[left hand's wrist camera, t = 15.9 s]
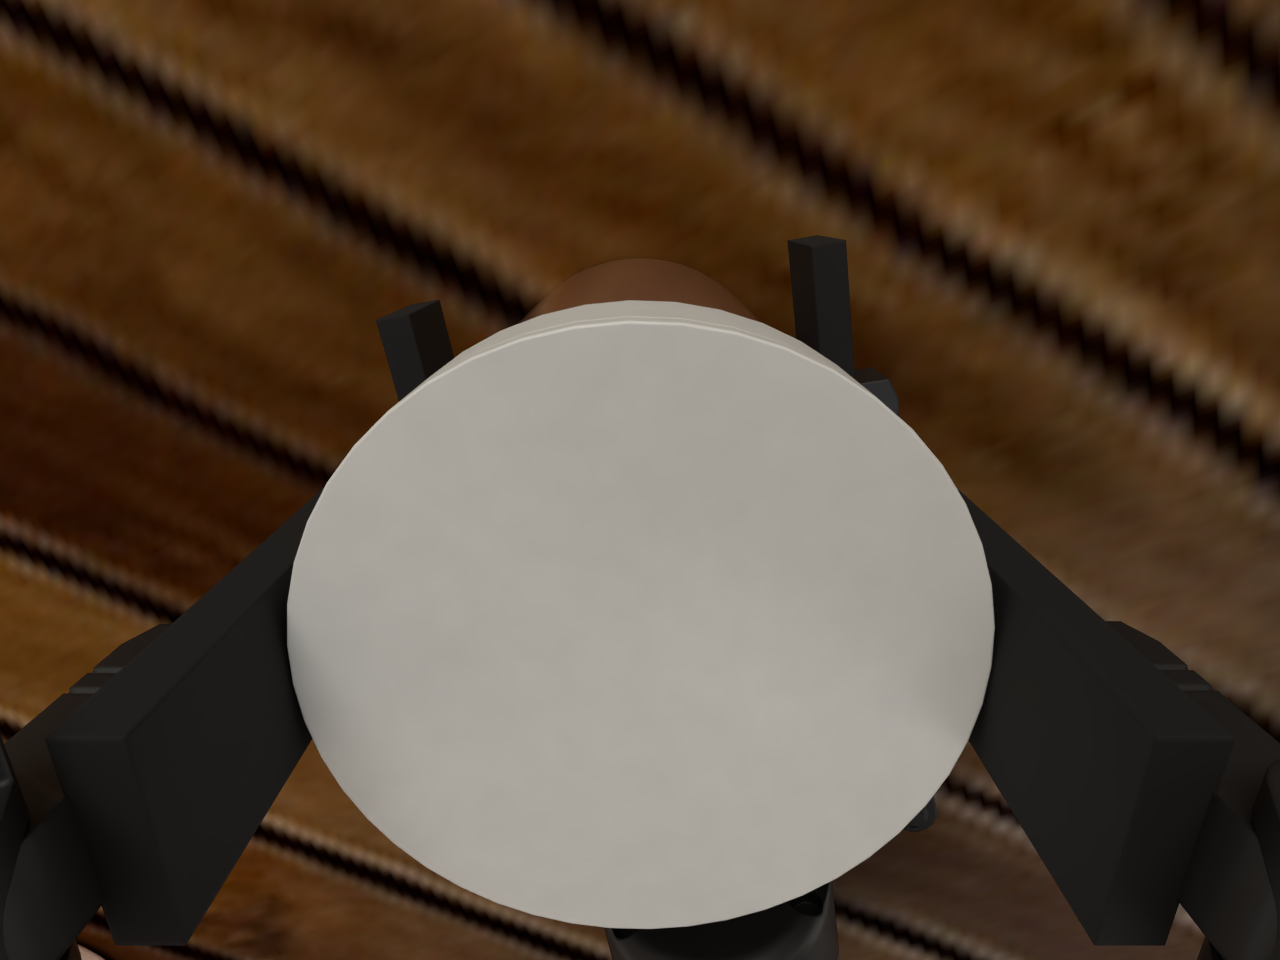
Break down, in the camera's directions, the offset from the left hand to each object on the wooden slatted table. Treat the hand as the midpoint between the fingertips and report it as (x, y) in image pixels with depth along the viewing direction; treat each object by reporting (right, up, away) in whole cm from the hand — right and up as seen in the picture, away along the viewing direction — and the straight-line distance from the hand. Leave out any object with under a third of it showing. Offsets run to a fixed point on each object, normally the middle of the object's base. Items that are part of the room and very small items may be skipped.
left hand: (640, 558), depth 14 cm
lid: (0, -1, -3) cm, 3 cm away
